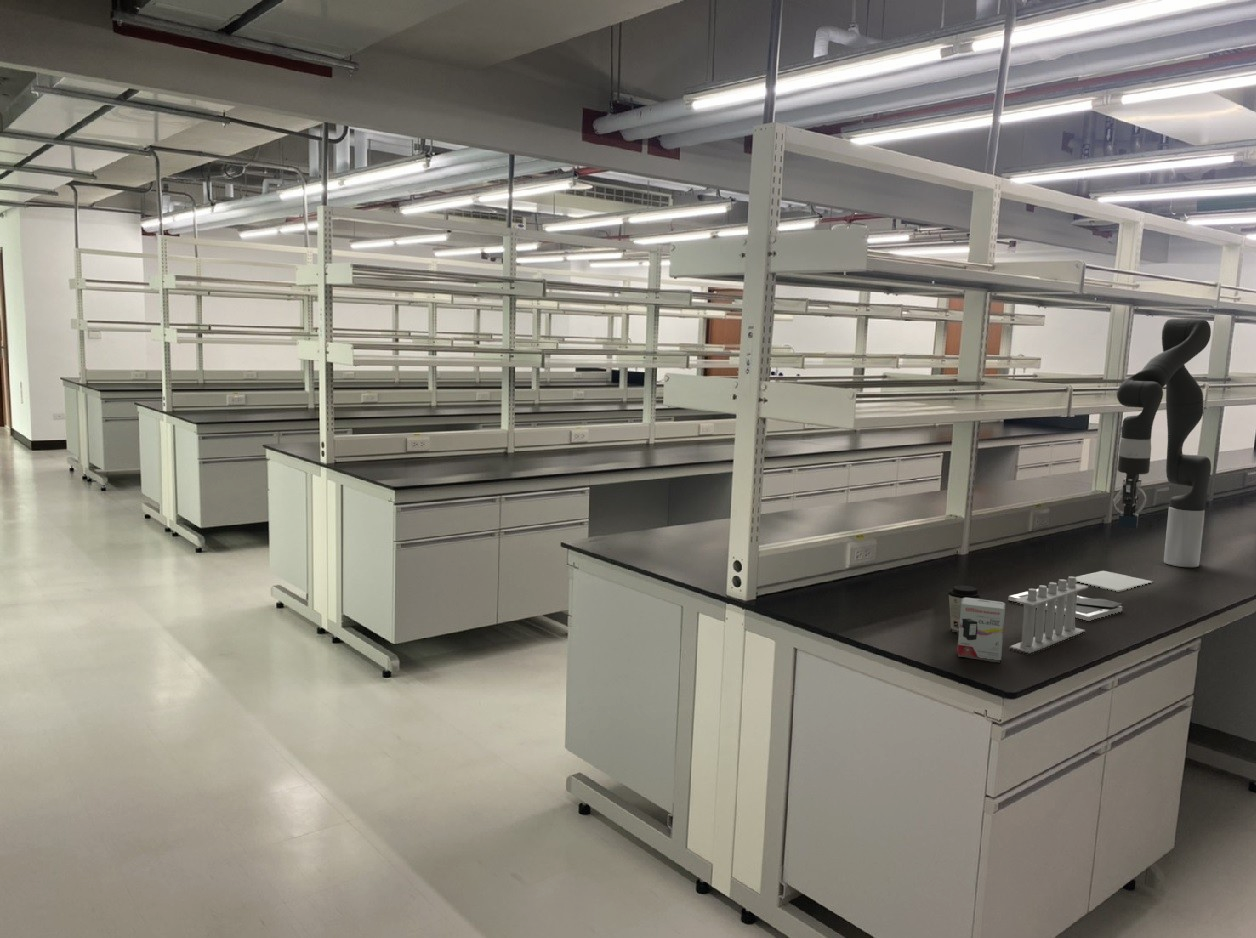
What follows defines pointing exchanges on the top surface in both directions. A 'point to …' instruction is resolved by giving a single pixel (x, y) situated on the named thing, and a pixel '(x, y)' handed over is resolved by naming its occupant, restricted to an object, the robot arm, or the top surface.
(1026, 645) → the test tube rack
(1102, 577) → the mat
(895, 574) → the top surface
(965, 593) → the coffee cup
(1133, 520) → the watch
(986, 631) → the ink box
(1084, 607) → the picture frame
